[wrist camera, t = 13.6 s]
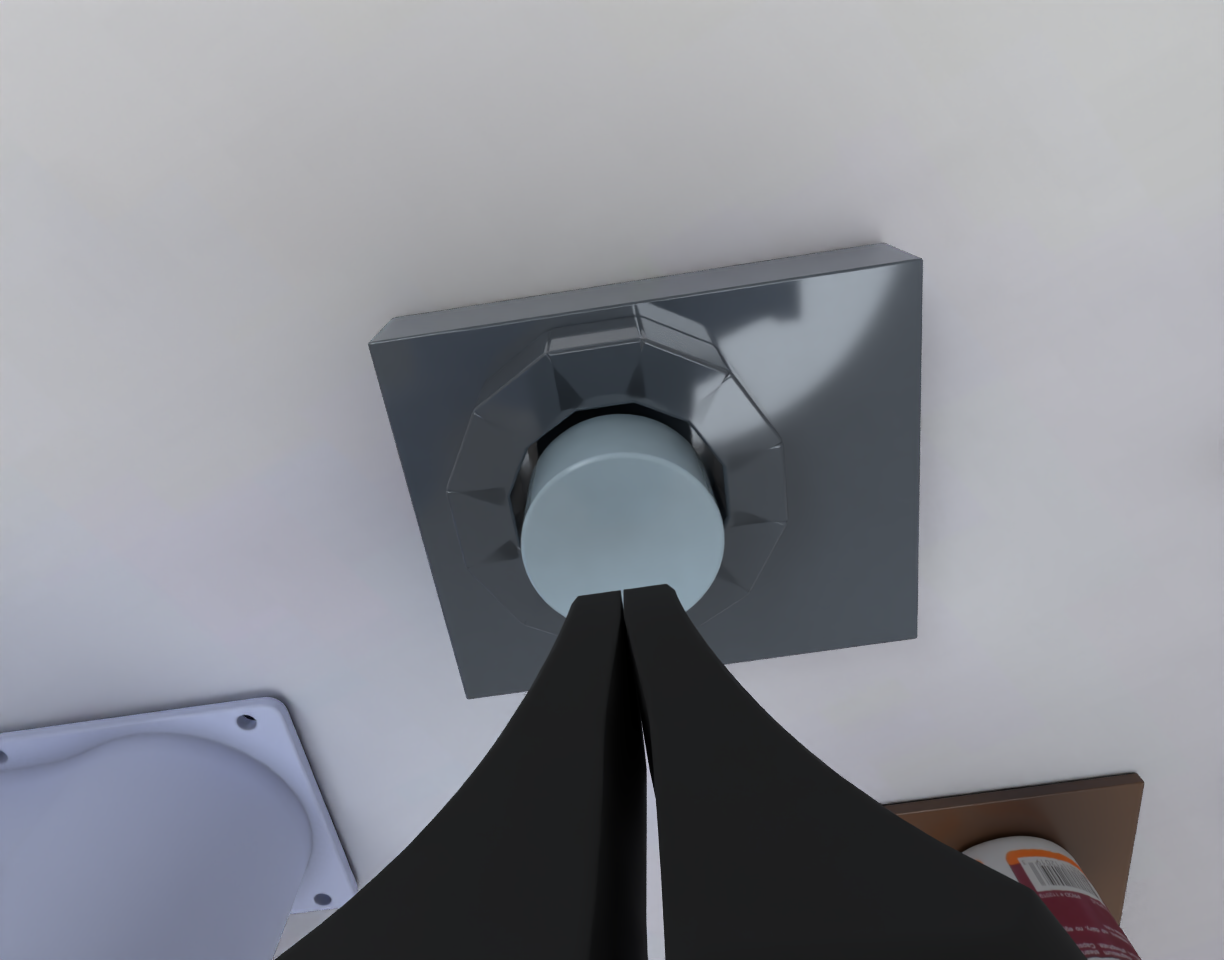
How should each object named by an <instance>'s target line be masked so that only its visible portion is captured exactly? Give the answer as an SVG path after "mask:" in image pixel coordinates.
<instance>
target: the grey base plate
mask: <svg viewBox="0 0 1224 960" xmlns="http://www.w3.org/2000/svg"><path fill="white" fill-rule="evenodd" d="M922 282H923V260H922V258H920V257H917V256H915V255H912V254H910V253H908V252H905V251H903V250H901V249H898V248H896V247H893V246H891V245H889V244H886V243H878V244H872V245H865V246H859V247H852V248H846V249H839V250H833V251H826V252H820V253H813V254H806V255H800V256H793V257H787V258H780V259H774V260H767V261H761V262H754V263H748V264H741V265H735V266H728V267H722V268H715V269H709V270H702V271H696V272H689V273H683V274H676V275H670V276H663V277H657V278H650V279H644V280H637V281H630V282H624V283H617V284H611V285H604V286H598V287H591V288H585V289H578V290H572V291H565V292H559V293H552V294H546V295H539V296H533V297H526V298H520V299H513V300H507V301H500V302H494V303H487V304H481V305H474V306H467V307H461V308H454V309H448V310H441V311H435V312H428V313H422V314H415V315H409V316H402V317H396V318H392V319H391V320H390V321H389V322H388V323H387V324H386V325H385V326H384V327H383V328H382V329H381V331H380V332H379V333H378V334H377V335H376V336H375V337H374V338H373V339H372V340H371V341H370V342H369V343H368V346H369V350H370V353H371V357H372V361H373V364H374V368H375V371H376V375H377V379H378V382H379V386H380V389H381V393H382V397H383V400H384V404H385V407H386V411H387V414H388V418H389V422H390V425H391V429H392V432H393V436H394V440H395V443H396V447H397V450H398V454H399V458H400V461H401V465H402V468H403V472H404V475H405V479H406V483H407V486H408V490H409V493H410V497H411V501H412V504H413V508H414V511H415V515H416V518H417V522H418V526H419V529H420V533H421V536H422V540H423V544H424V547H425V551H426V554H427V558H428V562H429V565H430V569H431V572H432V576H433V579H434V583H435V587H436V590H437V594H438V597H439V601H440V605H441V608H442V612H443V615H444V619H445V622H446V626H447V630H448V633H449V637H450V640H451V644H452V648H453V651H454V655H455V658H456V662H457V666H458V669H459V673H460V676H461V680H462V683H463V687H464V691H465V694H466V698H467V699H474V698H482V697H489V696H496V695H504V694H511V693H519V692H526V691H529V689H530V688H531V686H532V684H533V682H534V680H535V679H536V677H537V675H538V673H539V671H540V670H541V668H542V666H543V664H544V662H545V660H546V659H547V657H548V655H549V653H550V651H551V649H552V647H553V645H554V643H555V641H556V639H557V637H558V635H559V633H560V630H561V628H562V626H563V624H564V621H565V619H566V618H565V617H564V616H562V615H561V614H559V613H558V612H557V611H555V610H554V609H553V608H552V607H551V606H549V605H548V604H547V603H546V602H545V601H544V600H543V598H542V597H541V596H540V595H539V594H538V593H537V591H536V590H535V588H534V587H533V585H532V584H531V582H530V580H529V578H528V575H527V573H526V571H525V568H524V564H523V561H522V555H521V532H522V526H523V520H524V513H525V507H526V501H527V494H528V488H529V482H530V478H531V475H532V472H533V469H534V467H535V465H536V463H537V460H538V459H539V457H540V456H541V454H542V453H543V451H544V450H545V449H546V448H547V446H548V445H549V444H550V443H551V442H552V441H553V440H554V439H555V438H556V437H558V436H559V435H560V434H561V433H563V432H564V431H566V430H567V429H569V428H570V427H572V426H574V425H576V424H578V423H580V422H582V421H585V420H588V419H591V418H594V417H598V416H603V415H611V414H632V415H638V416H643V417H647V418H650V419H654V420H656V421H658V422H661V423H663V424H665V425H667V426H669V427H670V428H672V429H674V430H675V431H677V432H678V433H679V434H680V435H682V436H683V437H684V438H685V439H686V440H687V441H688V442H689V443H690V444H691V445H692V446H693V448H694V449H695V450H696V452H697V453H698V455H699V456H700V458H701V460H702V462H703V464H704V466H705V469H706V472H707V475H708V478H709V481H710V484H711V487H712V490H713V493H714V496H715V499H716V502H717V505H718V508H719V511H720V514H721V517H722V520H723V525H724V531H725V547H724V555H723V559H722V563H721V566H720V569H719V571H718V573H717V576H716V578H715V579H714V581H713V583H712V584H711V586H710V588H709V589H708V590H707V592H706V593H705V594H704V595H703V597H702V598H701V599H700V600H699V601H698V602H697V603H696V604H695V605H694V606H693V607H691V608H690V609H689V610H687V611H686V613H687V615H688V617H689V618H690V620H691V621H692V623H693V624H694V626H695V627H696V629H697V630H698V632H699V633H700V635H701V636H702V637H703V639H704V640H705V641H706V643H707V644H708V646H709V647H710V648H711V649H712V651H713V652H714V653H715V654H716V656H717V657H718V658H719V659H720V661H721V662H722V663H723V664H732V663H739V662H746V661H754V660H761V659H768V658H776V657H783V656H790V655H798V654H805V653H812V652H820V651H827V650H835V649H842V648H849V647H857V646H864V645H871V644H879V643H886V642H893V641H901V640H908V639H915V638H917V615H918V549H919V482H920V415H921V349H922Z"/></svg>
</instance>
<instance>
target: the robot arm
mask: <svg viewBox="0 0 1224 960" xmlns="http://www.w3.org/2000/svg"><path fill="white" fill-rule="evenodd" d="M623 604H624V608H623ZM244 715H249V716H251V717H253V718H254V719H255V720H250V719H248V718H246V717H245V716H244ZM641 721H642V722H641ZM642 727H643V731H642ZM643 733H644V739H645V745H646V751H647V757H648V763H649V769H650V773H651V778H652V783H653V788H654V792H655V797H656V807H657V821H658V836H659V851H660V866H661V881H662V900H663V919H664V939H665V960H1088V959H1087V958H1086V957H1085V955H1084V954H1083V953H1082V951H1081V950H1080V949H1079V947H1078V946H1077V945H1076V943H1075V942H1074V941H1073V939H1072V938H1071V937H1070V935H1069V934H1068V933H1067V931H1066V930H1065V929H1064V928H1063V926H1062V925H1061V924H1060V923H1059V921H1058V920H1057V919H1056V917H1055V916H1054V915H1053V914H1052V912H1051V911H1050V910H1049V908H1048V907H1047V906H1046V905H1045V903H1044V902H1043V901H1042V900H1041V898H1040V897H1039V896H1038V895H1037V894H1036V892H1035V891H1034V890H1032V889H1031V888H1029V887H1027V886H1025V885H1023V884H1021V883H1019V882H1017V881H1015V880H1013V879H1011V878H1010V877H1008V876H1006V875H1004V874H1002V873H1000V872H998V871H996V870H994V869H992V868H990V867H988V866H986V865H984V864H982V863H980V862H978V861H977V860H975V859H973V858H971V857H969V856H967V855H965V854H963V853H961V852H959V851H957V850H955V849H953V848H951V847H949V846H947V845H946V844H944V843H942V842H940V841H938V840H937V839H935V838H933V837H931V836H930V835H928V834H926V833H925V832H923V831H922V830H920V829H918V828H917V827H915V826H913V825H912V824H910V823H908V822H907V821H905V820H903V819H902V818H900V817H899V816H897V815H895V814H894V813H893V812H891V811H890V810H888V809H887V808H885V807H884V806H883V805H881V804H880V803H878V802H877V801H876V800H874V799H873V798H871V797H870V796H868V795H867V794H866V793H864V792H863V791H861V790H860V789H858V788H857V787H856V786H854V785H853V784H851V783H850V782H848V781H847V780H846V779H844V778H843V777H841V776H840V775H839V774H837V773H836V772H835V771H833V770H832V769H831V768H830V767H829V766H827V765H826V764H825V763H824V762H822V761H821V760H820V759H819V758H817V757H816V756H815V755H814V754H813V753H811V752H810V751H809V750H808V749H806V748H805V747H804V746H803V745H802V744H801V743H800V742H798V741H797V740H796V739H795V738H794V737H793V736H792V735H791V734H789V733H788V732H787V731H786V730H785V729H784V728H783V727H782V726H781V725H780V724H779V723H777V722H776V721H775V720H774V719H773V718H772V717H771V716H770V715H769V714H768V713H767V712H766V711H765V710H764V709H763V708H762V707H761V706H760V705H759V704H758V703H757V702H756V700H755V699H754V698H753V697H752V696H751V695H750V694H749V693H748V692H747V691H746V690H745V689H744V688H743V687H742V686H741V684H740V683H739V682H738V681H737V680H736V679H735V678H734V676H733V675H732V674H731V673H730V672H729V671H728V669H727V668H726V667H725V666H724V664H723V663H722V662H721V661H720V659H719V658H718V657H717V656H716V654H715V653H714V652H713V651H712V649H711V648H710V647H709V646H708V644H707V643H706V641H705V640H704V639H703V637H702V636H701V635H700V633H699V632H698V630H697V629H696V627H695V626H694V624H693V623H692V621H691V620H690V618H689V617H688V615H687V613H686V612H685V610H684V608H683V606H682V604H681V603H680V600H679V598H678V596H677V594H676V591H675V589H673V588H672V587H671V586H669V585H668V584H660V585H653V586H646V587H639V588H632V589H624V590H623V602H622V596H621V590H617V591H610V592H603V593H596V594H589V595H582V596H578V597H577V598H576V599H575V600H574V602H573V603H572V604H571V607H570V609H569V612H568V614H567V617H566V619H565V621H564V624H563V626H562V628H561V630H560V633H559V635H558V637H557V639H556V641H555V643H554V645H553V647H552V649H551V651H550V653H549V655H548V657H547V659H546V660H545V662H544V664H543V666H542V668H541V670H540V671H539V673H538V675H537V677H536V679H535V680H534V682H533V684H532V686H531V688H530V689H529V691H528V693H527V694H526V696H525V698H524V699H523V701H522V702H521V704H520V705H519V707H518V709H517V710H516V712H515V713H514V715H513V716H512V718H511V719H510V721H509V723H508V724H507V726H506V727H505V729H504V730H503V732H502V733H501V735H500V736H499V738H498V739H497V741H496V742H495V743H494V745H493V746H492V748H491V749H490V750H489V752H488V753H487V755H486V756H485V757H484V759H483V760H482V761H481V763H480V764H479V765H478V766H477V768H476V769H475V770H474V772H473V773H472V774H471V775H470V777H469V778H468V779H467V780H466V782H465V783H464V784H463V785H462V787H461V788H460V789H459V790H458V791H457V793H456V794H455V795H454V796H453V797H452V798H451V799H450V801H449V802H448V803H447V804H446V805H445V806H444V807H443V809H442V810H441V811H440V812H439V813H438V814H437V815H436V816H435V818H434V819H433V820H432V821H431V822H430V823H429V824H428V825H427V826H426V827H425V828H424V829H423V830H422V832H421V833H420V834H419V835H418V836H417V837H416V838H415V839H414V840H413V841H412V842H411V843H410V844H409V845H408V846H407V847H406V848H405V849H404V850H403V851H402V852H401V853H400V854H399V855H398V856H397V857H396V858H395V859H394V860H393V861H392V862H391V863H390V864H389V865H387V866H386V867H385V868H384V869H383V870H382V871H381V872H380V873H379V874H378V875H377V876H376V877H375V878H374V879H372V880H371V881H370V882H369V883H368V884H367V885H366V886H365V887H363V888H362V889H361V890H360V891H359V892H358V893H357V891H358V886H357V883H356V881H355V878H354V875H353V873H352V870H351V868H350V865H349V863H348V860H347V858H346V855H345V853H344V850H343V848H342V845H341V843H340V840H339V838H338V835H337V833H336V830H335V828H334V825H333V823H332V820H331V818H330V815H329V813H328V810H327V808H326V805H325V803H324V800H323V798H322V795H321V793H320V790H319V788H318V785H317V783H316V780H315V778H314V775H313V773H312V770H311V768H310V765H309V763H308V760H307V758H306V755H305V753H304V750H303V748H302V745H301V743H300V740H299V738H298V735H297V733H296V730H295V728H294V725H293V723H292V720H291V718H290V715H289V713H288V710H287V708H286V707H285V705H284V704H283V703H282V702H281V701H279V700H278V699H275V698H272V697H259V698H252V699H245V700H237V701H230V702H223V703H215V704H208V705H201V706H194V707H186V708H179V709H172V710H165V711H157V712H150V713H143V714H135V715H128V716H121V717H114V718H106V719H99V720H92V721H84V722H77V723H70V724H63V725H55V726H48V727H41V728H34V729H26V730H19V731H12V732H4V733H0V960H272V959H273V956H274V954H275V951H276V948H277V946H278V943H279V940H280V938H281V935H282V932H283V930H284V927H285V924H286V922H287V919H288V916H289V914H296V913H303V912H311V911H319V910H327V909H335V908H339V909H338V910H337V911H336V912H335V913H333V914H332V915H331V916H330V917H329V918H328V919H326V920H325V921H324V922H323V923H322V924H320V925H319V926H318V927H316V928H315V929H314V930H312V931H311V932H310V933H309V934H307V935H306V936H305V937H303V938H302V939H301V940H300V941H298V942H297V943H296V944H294V945H293V946H292V947H291V948H289V949H288V950H287V951H285V952H284V953H283V954H282V955H280V956H279V957H278V958H276V959H275V960H648V953H647V927H646V850H647V768H646V759H645V749H644V740H643Z"/></svg>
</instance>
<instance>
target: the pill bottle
mask: <svg viewBox="0 0 1224 960" xmlns="http://www.w3.org/2000/svg"><path fill="white" fill-rule="evenodd" d="M962 853H963V854H965V855H967V856H969V857H971V858H973V859H975V860H977V861H978V862H980V863H982V864H984V865H986V866H988V867H990V868H992V869H994V870H996V871H998V872H1000V873H1002V874H1004V875H1006V876H1008V877H1010V878H1011V879H1013V880H1015V881H1017V882H1019V883H1021V884H1023V885H1025V886H1027V887H1029V888H1031V889H1032V890H1034V891H1035V892H1036V894H1037V895H1038V896H1039V897H1040V898H1041V900H1042V901H1043V902H1044V903H1045V905H1046V906H1047V907H1048V908H1049V910H1050V911H1051V912H1052V914H1053V915H1054V916H1055V917H1056V919H1057V920H1058V921H1059V923H1060V924H1061V925H1062V926H1063V928H1064V929H1065V930H1066V931H1067V933H1068V934H1069V935H1070V937H1071V938H1072V939H1073V941H1074V942H1075V943H1076V945H1077V946H1078V947H1079V949H1080V950H1081V951H1082V953H1083V954H1084V955H1085V957H1086V958H1087V959H1088V960H1141V958H1140V957H1139V956H1138V954H1137V952H1136V951H1135V949H1134V948H1133V946H1132V944H1131V943H1130V941H1129V940H1128V938H1127V937H1126V935H1125V934H1124V932H1123V930H1122V929H1121V928H1120V927H1119V925H1118V924H1117V922H1116V921H1115V919H1114V917H1113V916H1112V915H1111V913H1110V911H1109V909H1108V908H1107V907H1106V905H1105V904H1104V902H1103V901H1102V899H1101V898H1100V896H1099V894H1098V893H1097V891H1096V890H1095V888H1094V887H1093V886H1092V884H1091V883H1090V881H1089V880H1088V879H1087V877H1086V876H1085V874H1084V873H1083V871H1082V870H1081V868H1080V867H1079V865H1078V864H1077V862H1076V861H1075V859H1074V858H1073V857H1072V856H1071V855H1070V854H1069V853H1068V852H1067V851H1066V850H1065V849H1063V848H1062V847H1060V846H1059V845H1057V844H1055V843H1053V842H1051V841H1049V840H1045V839H1042V838H1037V837H1031V836H1011V837H1004V838H998V839H994V840H990V841H986V842H983V843H980V844H978V845H975V846H973V847H971V848H969V849H967V850H965V851H964V852H962Z"/></svg>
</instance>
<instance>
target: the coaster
mask: <svg viewBox="0 0 1224 960" xmlns="http://www.w3.org/2000/svg"><path fill="white" fill-rule="evenodd" d="M1143 788H1144V781H1143V780H1142V779H1141V778H1140V776H1139V775H1138V774H1137V773H1133V774H1126V775H1118V776H1110V777H1102V778H1095V779H1087V780H1079V781H1071V782H1064V783H1056V784H1048V785H1040V786H1033V787H1025V788H1017V789H1009V790H1002V791H994V792H986V793H978V794H971V795H963V796H955V797H947V798H940V799H932V800H924V801H916V802H909V803H901V804H893V805H885V806H884V807H885V808H887V809H888V810H890V811H891V812H893V813H894V814H895V815H897V816H899V817H900V818H902V819H903V820H905V821H907V822H908V823H910V824H912V825H913V826H915V827H917V828H918V829H920V830H922V831H923V832H925V833H926V834H928V835H930V836H931V837H933V838H935V839H937V840H938V841H940V842H942V843H944V844H946V845H947V846H949V847H951V848H953V849H955V850H957V851H959V852H961V853H962V852H964V851H965V850H967V849H969V848H971V847H973V846H975V845H978V844H980V843H983V842H986V841H990V840H994V839H998V838H1004V837H1011V836H1031V837H1037V838H1042V839H1045V840H1049V841H1051V842H1053V843H1055V844H1057V845H1059V846H1060V847H1062V848H1063V849H1065V850H1066V851H1067V852H1068V853H1069V854H1070V855H1071V856H1072V857H1073V858H1074V859H1075V861H1076V862H1077V864H1078V865H1079V867H1080V868H1081V870H1082V871H1083V873H1084V874H1085V876H1086V877H1087V879H1088V880H1089V881H1090V883H1091V884H1092V886H1093V887H1094V888H1095V890H1096V891H1097V893H1098V894H1099V896H1100V898H1101V899H1102V901H1103V902H1104V904H1105V905H1106V907H1107V908H1108V909H1109V911H1110V913H1111V915H1112V916H1113V917H1114V919H1115V921H1116V922H1117V924H1118V925H1119V926H1120V921H1121V915H1122V909H1123V903H1124V898H1125V892H1126V886H1127V880H1128V875H1129V869H1130V863H1131V857H1132V852H1133V846H1134V840H1135V834H1136V829H1137V823H1138V817H1139V811H1140V806H1141V800H1142V794H1143Z"/></svg>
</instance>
